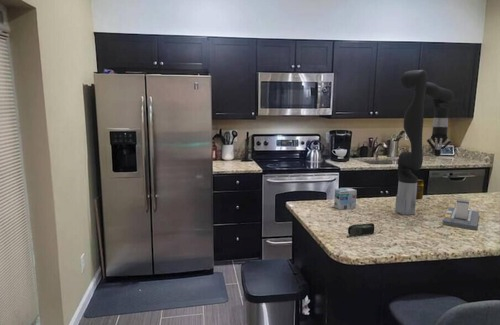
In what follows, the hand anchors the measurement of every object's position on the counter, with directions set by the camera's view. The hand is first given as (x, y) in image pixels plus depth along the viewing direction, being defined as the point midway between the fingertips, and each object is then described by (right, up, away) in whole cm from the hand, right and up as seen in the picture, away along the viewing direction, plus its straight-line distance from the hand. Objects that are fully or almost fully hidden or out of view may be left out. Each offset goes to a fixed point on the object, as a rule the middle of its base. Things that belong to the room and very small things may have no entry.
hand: (437, 156), depth 200 cm
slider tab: (-3, -31, -27) cm, 41 cm away
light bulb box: (-54, -30, -2) cm, 62 cm away
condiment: (-3, -27, +18) cm, 33 cm away
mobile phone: (-59, -37, -44) cm, 83 cm away
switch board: (0, -33, -23) cm, 40 cm away
